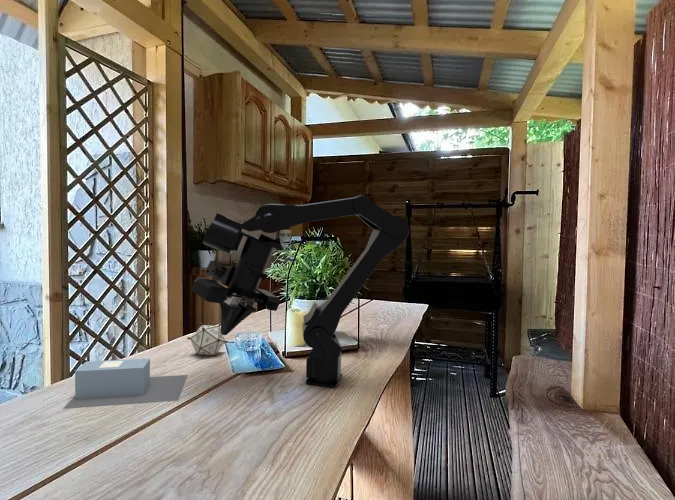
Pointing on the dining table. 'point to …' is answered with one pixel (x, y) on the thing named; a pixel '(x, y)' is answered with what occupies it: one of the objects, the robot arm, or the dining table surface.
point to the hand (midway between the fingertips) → (223, 334)
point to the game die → (207, 340)
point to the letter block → (112, 378)
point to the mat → (156, 392)
